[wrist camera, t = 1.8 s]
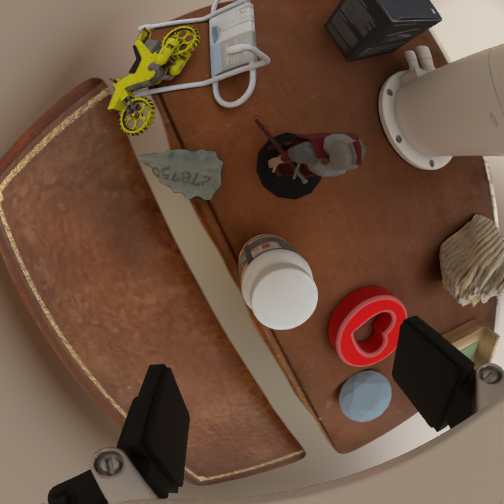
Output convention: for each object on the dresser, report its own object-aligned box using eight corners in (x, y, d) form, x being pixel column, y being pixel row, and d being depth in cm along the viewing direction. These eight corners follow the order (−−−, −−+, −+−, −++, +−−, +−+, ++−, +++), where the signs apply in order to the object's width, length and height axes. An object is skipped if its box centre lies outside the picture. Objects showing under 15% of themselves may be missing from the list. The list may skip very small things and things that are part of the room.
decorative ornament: (324, 299, 29) (333, 311, 26) (395, 277, 29) (410, 286, 26) (330, 363, 32) (338, 378, 29) (394, 340, 32) (405, 352, 29)
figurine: (261, 203, 26) (298, 229, 12) (250, 131, 24) (274, 69, 10) (326, 195, 26) (419, 212, 12) (316, 125, 25) (399, 76, 10)
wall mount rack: (283, 97, 20) (242, 77, 15) (174, 127, 27) (130, 124, 22) (267, -23, 16) (233, -50, 11) (175, 22, 23) (139, 10, 19)
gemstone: (390, 408, 32) (398, 411, 27) (343, 424, 33) (345, 430, 28) (379, 364, 35) (385, 361, 31) (332, 380, 36) (333, 380, 32)
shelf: (437, 336, 33) (492, 385, 19) (474, 318, 33) (526, 355, 20) (422, 390, 36) (462, 439, 22) (459, 370, 36) (499, 410, 23)
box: (371, 18, 21) (413, -22, 11) (394, 53, 22) (445, 20, 12) (321, 26, 21) (356, -26, 11) (346, 63, 23) (395, 20, 12)
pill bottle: (228, 247, 27) (227, 282, 17) (281, 223, 27) (309, 245, 17) (251, 295, 28) (262, 348, 19) (301, 272, 28) (334, 315, 19)
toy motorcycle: (213, 39, 19) (160, 29, 20) (199, 19, 16) (143, 13, 16) (153, 143, 23) (107, 123, 23) (130, 138, 19) (83, 117, 20)
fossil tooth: (480, 237, 31) (427, 299, 31) (473, 203, 29) (417, 264, 29) (535, 254, 20) (487, 334, 20) (534, 215, 18) (487, 296, 18)
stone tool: (229, 153, 23) (216, 205, 24) (228, 155, 25) (215, 204, 26) (140, 135, 22) (127, 187, 23) (144, 138, 23) (132, 187, 24)
